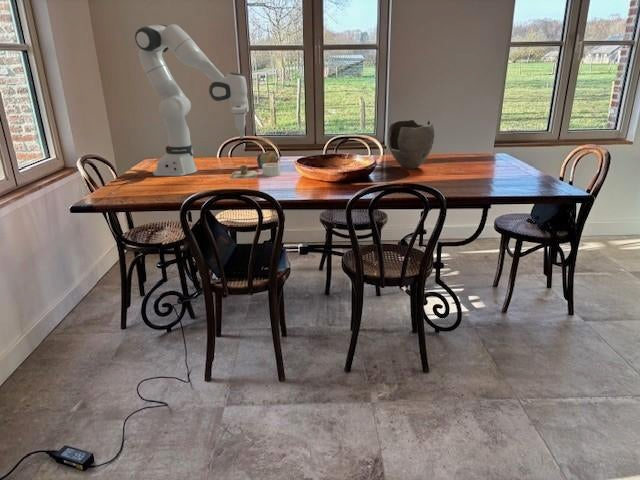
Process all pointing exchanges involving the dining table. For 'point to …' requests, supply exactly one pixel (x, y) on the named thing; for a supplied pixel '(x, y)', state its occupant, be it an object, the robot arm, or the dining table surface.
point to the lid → (244, 173)
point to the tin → (267, 158)
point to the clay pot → (410, 142)
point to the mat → (243, 178)
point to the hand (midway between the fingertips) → (242, 136)
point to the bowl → (271, 169)
